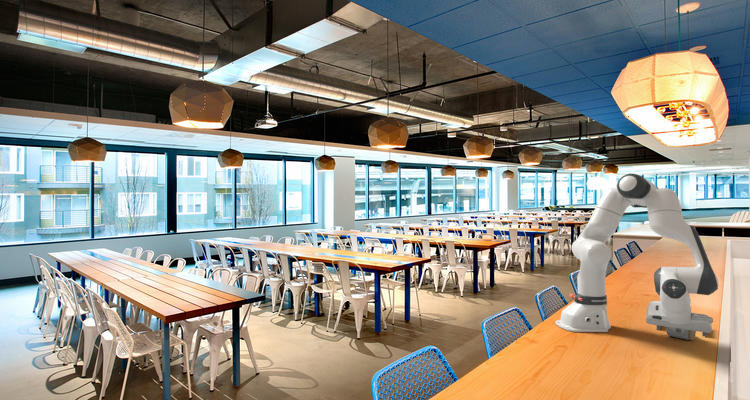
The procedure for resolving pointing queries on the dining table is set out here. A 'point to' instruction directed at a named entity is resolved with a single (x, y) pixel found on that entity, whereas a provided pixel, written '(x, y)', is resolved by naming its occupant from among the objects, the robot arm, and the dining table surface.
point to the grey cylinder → (681, 334)
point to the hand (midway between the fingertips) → (678, 331)
